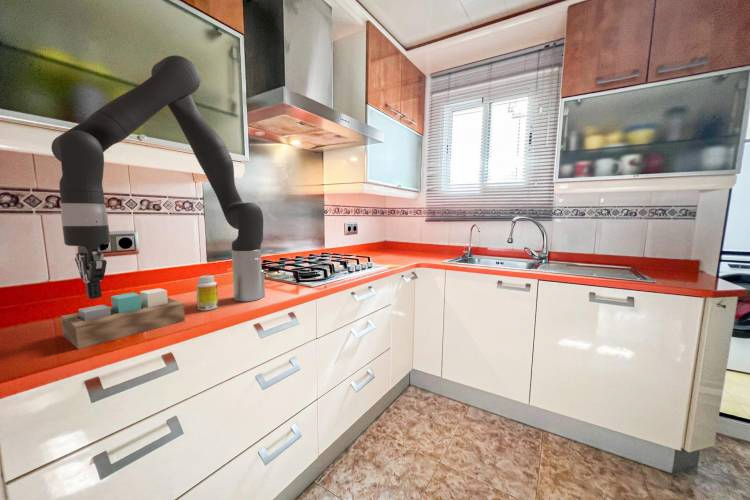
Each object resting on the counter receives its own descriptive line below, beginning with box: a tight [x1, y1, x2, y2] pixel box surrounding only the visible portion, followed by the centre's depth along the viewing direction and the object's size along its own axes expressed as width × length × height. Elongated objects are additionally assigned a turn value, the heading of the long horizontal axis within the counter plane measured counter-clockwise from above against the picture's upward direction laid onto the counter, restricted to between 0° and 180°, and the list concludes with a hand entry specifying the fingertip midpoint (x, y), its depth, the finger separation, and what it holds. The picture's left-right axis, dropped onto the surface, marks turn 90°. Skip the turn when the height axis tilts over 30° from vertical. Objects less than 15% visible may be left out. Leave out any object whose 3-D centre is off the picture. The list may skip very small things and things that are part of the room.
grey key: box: [78, 304, 111, 321], centre depth 69 cm, size 4×4×4 cm
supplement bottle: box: [195, 274, 219, 312], centre depth 91 cm, size 6×6×10 cm
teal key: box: [110, 292, 141, 314], centre depth 74 cm, size 4×4×4 cm
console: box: [60, 297, 186, 350], centre depth 75 cm, size 21×12×5 cm, turn 147°
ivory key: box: [139, 287, 169, 308], centre depth 79 cm, size 4×4×4 cm
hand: (94, 297), depth 69 cm, fingers closed
